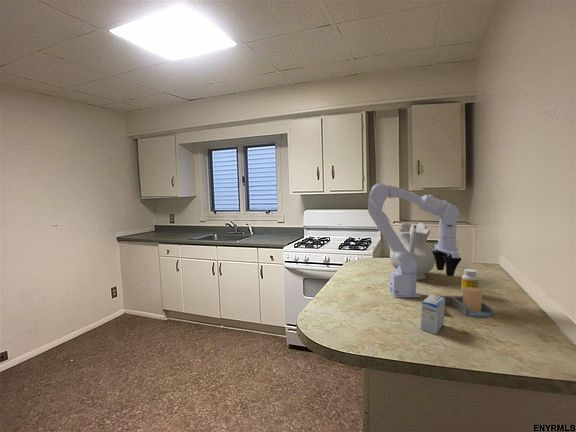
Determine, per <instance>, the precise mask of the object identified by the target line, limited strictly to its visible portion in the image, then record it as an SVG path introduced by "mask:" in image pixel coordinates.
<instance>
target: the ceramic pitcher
mask: <svg viewBox="0 0 576 432" xmlns="http://www.w3.org/2000/svg"><path fill="white" fill-rule="evenodd" d="M396 231H397V235H398V238H399V239H400V241H401V242H402V244H403V245H404V247H405V248H406V250H407V251H408V252H410V253H411V254H412V255H413V256H414V259H415V260H416V261H417V264H418V266H417V269H416V271H417V278H416V281H419V280H425V279H426V278H427V277H426V275H425V274H427V273H429V272H431V271H432V269H434V266H436V262H435V258H434V255H433V253H432V251H434V250H433V249H431V248H430V246H428V244H427V243H428V242H427V240H428V237H429V236H430V234H431V229H429V228H428V227H427V224H425V223H424V222H421V221H420V222H418V223H417V224H411V223H408V222H403V223H402V224H401V226H400V227H397V229H396ZM389 258H390V259H389V260H390V263H391V265H392V266H393V267H394V269H395V270H397V268H398V267H399V264H398V261H397V258H396V256H395V254H394V252H393V251H392V249H391V250H390V252H389Z"/></svg>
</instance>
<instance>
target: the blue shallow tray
mask: <svg viewBox="0 0 576 432" xmlns="http://www.w3.org/2000/svg"><path fill="white" fill-rule="evenodd" d="M439 296H440V297H443V298H445V305H451V306H453V307H454V308H455V309H457V310H458V311H459V312H461V313H462V314H463V315H464V316H466V317H467V316H468V317H471V318H472V317H473V316H476V317H477V318H478V317H482V318H485V317H486V318H487V317H488V318H491V317H492V316H493V307H492V306H490V305H488V304H487V303H485V302H483V301H482V302H481V312H469V308H468V307H467V306H465V305H464V304H462V301H463V295H439ZM445 313H446V307H445V308H444V316H445V315H446V314H445Z"/></svg>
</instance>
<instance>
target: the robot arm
mask: <svg viewBox="0 0 576 432" xmlns="http://www.w3.org/2000/svg"><path fill="white" fill-rule="evenodd" d="M434 196H435V195H434V194H429V195H428V194H424V195H423V196H421V195H418V194H415V193H413V192H411V191H408V190H405V189H403V188H400V187H398V186H393V185H389V184H384V183H381V182H380V183H375V184H374V185H373V186H372V187H371V189H370V190H369V194H368V206H367V207H368V208H367V211H368V214H369V216H370V217H371V219H372V221H373V222H374V224H375V226H376V227H377V229H378V230H379V232H380V233H381V235H382V236H383V238H384V239H385V241H386V242H387V244H388V246H389V248H390V249H391V250H392V251H393V252H394V254H395V256H396V258H397V261H398V264H399V267H398V268H397V269H395V270H394V271H392V270H391V271H390V272H389V276H388V277H389V279H388V292H389V293H390V294H391V295H392V297H394V298H413V299H414V298H417V299H418V298H420V297H421V296H420V295H419V294H418V293H417V292H416V291H417V280H416V278H417V271H416V269H417V266H418V264H417V261H416V260H415V259H414V256H413V255H412V254H411V253H410V252H408V251H407V250H406V248H405V247H404V245H403V244H402V242H401V241H400V237H399V235H398V233H397V232H396V231H395V230H394V228H393V226H392V225H391V224H390V222H389V220H388V219H387V217H386V216H385V214H384V213H383V211H382V210H383V206H384V203H385V201H386V200H387V198H389V199H395V198H399V199H400V200H404V201H408V202H409V203H413V204H416V205H417V206H418V208H419V210H420V211H424V212H427V213H429V214H431V215H434V216H439V224H438V225H439V226H438V237H437V243H435V244H434V250H433V251H432V253H433V255H434V258H435V266H436V270H437V271H444V269H445V273H446V276H447V277H454V274H455V273H456V271H457V270H456V269H457V267H458V265H459V264H460V262H461V261H462V258H461V257H460V252H459V248H458V247H456V241H457V228H458V227H457V225H458V223H457V221H458V218H459V217H460V215H461V212H460V210H459V207H458V206H457V205H456V204H452V203H450V202H448V201H447V200H446V199H443V200H442V199H439V198H436V197H434Z"/></svg>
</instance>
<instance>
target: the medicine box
mask: <svg viewBox="0 0 576 432" xmlns="http://www.w3.org/2000/svg"><path fill="white" fill-rule="evenodd" d="M440 296H441V295H434V294H429V295H427V297H426V298H425V299H423V301H422V302H421V313H420V314H421V316H420V330H421V331H424V332H427V333H430V334H434V335H436V334H437V333H438V332H439V331H440V329H441V328H442V326H443V325H444V320H445V315H444V308H445V309H446V307H445V306H446V304H445V298H443V297H440Z"/></svg>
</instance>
